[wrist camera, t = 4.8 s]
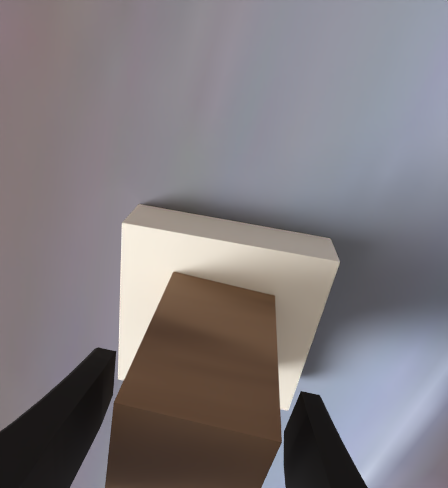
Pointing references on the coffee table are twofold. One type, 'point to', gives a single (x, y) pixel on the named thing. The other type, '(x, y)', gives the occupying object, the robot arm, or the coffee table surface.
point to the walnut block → (200, 392)
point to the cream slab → (225, 276)
